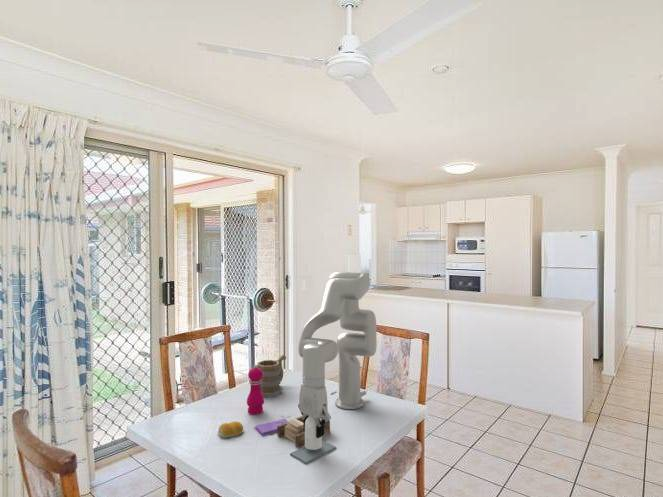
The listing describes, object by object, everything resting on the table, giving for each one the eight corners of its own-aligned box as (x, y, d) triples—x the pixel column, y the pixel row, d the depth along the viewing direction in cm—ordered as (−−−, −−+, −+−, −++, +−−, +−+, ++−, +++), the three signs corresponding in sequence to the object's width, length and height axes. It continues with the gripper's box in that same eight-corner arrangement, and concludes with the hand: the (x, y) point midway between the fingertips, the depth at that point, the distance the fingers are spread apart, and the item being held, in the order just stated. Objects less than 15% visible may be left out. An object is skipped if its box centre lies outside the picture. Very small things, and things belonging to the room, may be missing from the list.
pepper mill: (266, 408, 171) (266, 362, 171) (261, 415, 164) (261, 367, 164) (249, 407, 172) (249, 361, 171) (244, 414, 164) (244, 366, 164)
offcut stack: (293, 432, 149) (293, 417, 149) (307, 439, 144) (307, 424, 144) (284, 436, 146) (284, 421, 146) (297, 444, 141) (297, 428, 141)
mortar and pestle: (269, 399, 181) (269, 366, 181) (249, 393, 188) (249, 361, 188) (296, 386, 198) (296, 356, 198) (277, 381, 205) (277, 352, 205)
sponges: (292, 429, 153) (292, 424, 153) (261, 437, 146) (261, 432, 146) (285, 422, 159) (285, 417, 159) (254, 429, 153) (254, 424, 152)
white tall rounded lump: (320, 407, 139) (324, 413, 134) (320, 441, 139) (324, 449, 134) (303, 408, 137) (306, 415, 132) (303, 443, 138) (306, 451, 132)
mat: (319, 440, 143) (319, 438, 143) (336, 448, 138) (336, 446, 138) (290, 455, 133) (290, 453, 133) (306, 464, 128) (306, 462, 128)
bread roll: (246, 434, 148) (246, 423, 148) (222, 440, 143) (222, 429, 143) (238, 425, 155) (238, 415, 155) (215, 431, 150) (215, 421, 150)
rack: (309, 422, 158) (309, 407, 158) (329, 432, 150) (329, 416, 150) (277, 436, 146) (277, 420, 146) (297, 447, 138) (297, 430, 138)
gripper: (289, 377, 139) (289, 428, 139) (323, 390, 127) (323, 446, 127) (305, 372, 144) (305, 421, 144) (339, 384, 132) (339, 438, 132)
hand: (313, 432), depth 136 cm, fingers closed on white tall rounded lump, 5 cm apart
